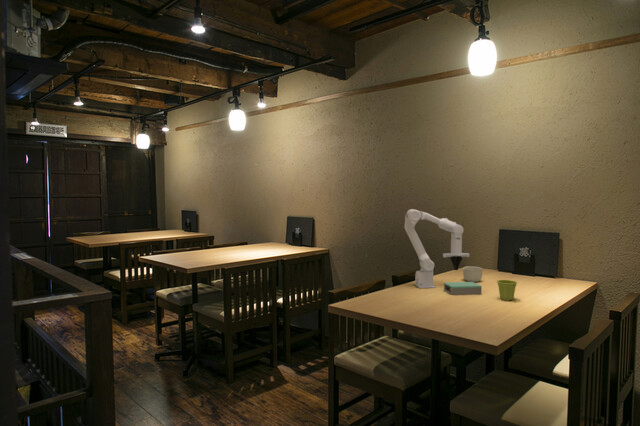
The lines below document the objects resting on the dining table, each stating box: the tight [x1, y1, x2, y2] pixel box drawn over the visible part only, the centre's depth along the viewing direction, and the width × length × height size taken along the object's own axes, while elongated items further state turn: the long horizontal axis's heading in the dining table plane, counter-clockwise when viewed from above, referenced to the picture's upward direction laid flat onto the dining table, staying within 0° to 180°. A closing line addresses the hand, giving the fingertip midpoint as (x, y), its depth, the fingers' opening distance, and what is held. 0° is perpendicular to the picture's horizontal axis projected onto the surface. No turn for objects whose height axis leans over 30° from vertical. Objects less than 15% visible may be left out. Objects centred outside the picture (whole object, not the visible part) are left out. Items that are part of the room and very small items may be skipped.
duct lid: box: [443, 281, 482, 288], centre depth 224 cm, size 16×10×1 cm, turn 96°
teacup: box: [462, 265, 483, 283], centre depth 252 cm, size 14×11×8 cm
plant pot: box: [496, 279, 518, 301], centre depth 211 cm, size 9×9×9 cm
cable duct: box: [443, 283, 483, 296], centre depth 224 cm, size 16×10×4 cm, turn 96°
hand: (455, 269), depth 236 cm, fingers closed
